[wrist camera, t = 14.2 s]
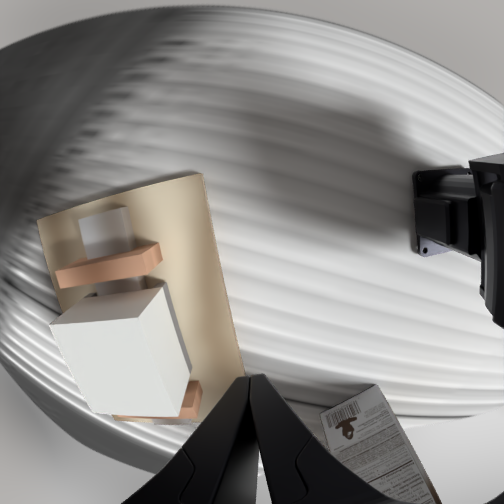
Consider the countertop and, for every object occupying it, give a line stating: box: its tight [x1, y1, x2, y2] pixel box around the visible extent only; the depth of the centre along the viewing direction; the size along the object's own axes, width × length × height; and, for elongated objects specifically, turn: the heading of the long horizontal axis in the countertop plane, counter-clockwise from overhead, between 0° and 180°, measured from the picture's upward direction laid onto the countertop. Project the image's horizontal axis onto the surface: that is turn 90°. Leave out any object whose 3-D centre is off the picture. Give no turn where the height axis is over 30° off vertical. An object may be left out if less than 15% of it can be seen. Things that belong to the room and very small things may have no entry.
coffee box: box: [320, 385, 442, 504], centre depth 16 cm, size 9×6×16 cm
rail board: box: [37, 173, 246, 425], centre depth 19 cm, size 14×20×4 cm
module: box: [49, 282, 192, 417], centre depth 17 cm, size 7×7×6 cm
